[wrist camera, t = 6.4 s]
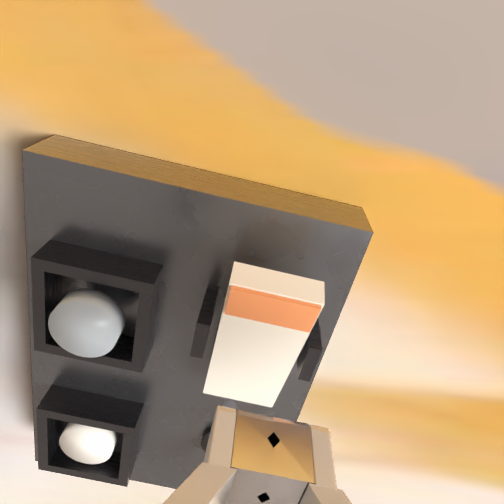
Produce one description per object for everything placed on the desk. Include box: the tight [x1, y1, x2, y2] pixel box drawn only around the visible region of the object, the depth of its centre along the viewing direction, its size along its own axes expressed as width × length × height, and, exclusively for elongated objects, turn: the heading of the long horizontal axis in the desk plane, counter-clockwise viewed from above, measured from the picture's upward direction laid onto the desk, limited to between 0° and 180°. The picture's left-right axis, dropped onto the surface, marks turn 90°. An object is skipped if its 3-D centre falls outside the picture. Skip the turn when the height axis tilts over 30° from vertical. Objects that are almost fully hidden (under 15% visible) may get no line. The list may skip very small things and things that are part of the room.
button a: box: [59, 422, 119, 464], centre depth 25 cm, size 3×3×1 cm
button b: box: [48, 288, 125, 358], centre depth 20 cm, size 3×3×1 cm
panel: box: [22, 135, 373, 489], centre depth 24 cm, size 22×16×6 cm
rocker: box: [203, 261, 325, 407], centre depth 20 cm, size 9×4×2 cm, turn 168°
